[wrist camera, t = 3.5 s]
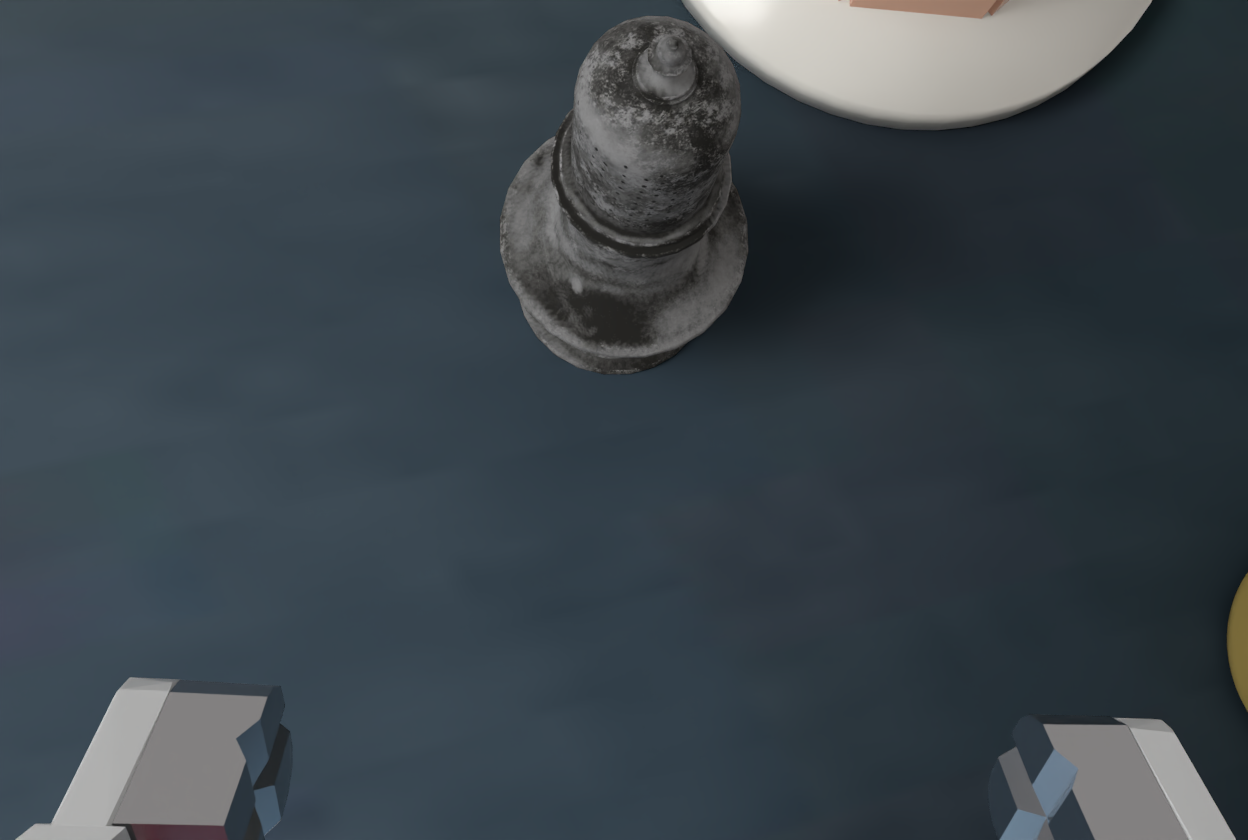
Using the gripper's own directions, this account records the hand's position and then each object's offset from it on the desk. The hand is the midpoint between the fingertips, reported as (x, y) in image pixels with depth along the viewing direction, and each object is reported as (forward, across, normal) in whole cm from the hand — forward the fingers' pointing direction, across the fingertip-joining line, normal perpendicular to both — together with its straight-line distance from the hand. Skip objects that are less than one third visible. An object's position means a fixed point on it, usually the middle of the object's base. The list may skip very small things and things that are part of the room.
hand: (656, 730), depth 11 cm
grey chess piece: (+17, 0, +3) cm, 17 cm away
